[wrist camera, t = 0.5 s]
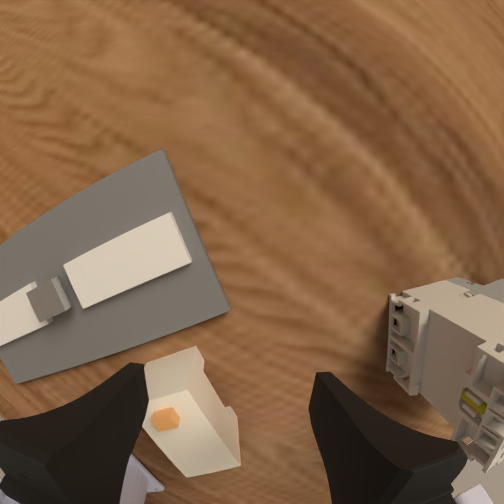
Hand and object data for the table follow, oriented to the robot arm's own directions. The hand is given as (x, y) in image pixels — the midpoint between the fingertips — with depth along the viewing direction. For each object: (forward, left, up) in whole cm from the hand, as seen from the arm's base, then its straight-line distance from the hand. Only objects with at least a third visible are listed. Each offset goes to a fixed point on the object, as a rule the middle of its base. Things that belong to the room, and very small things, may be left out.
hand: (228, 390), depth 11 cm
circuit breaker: (+18, -10, -11) cm, 23 cm away
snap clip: (-12, +6, -8) cm, 16 cm away
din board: (-12, +6, -10) cm, 17 cm away
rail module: (-6, -6, -10) cm, 13 cm away
